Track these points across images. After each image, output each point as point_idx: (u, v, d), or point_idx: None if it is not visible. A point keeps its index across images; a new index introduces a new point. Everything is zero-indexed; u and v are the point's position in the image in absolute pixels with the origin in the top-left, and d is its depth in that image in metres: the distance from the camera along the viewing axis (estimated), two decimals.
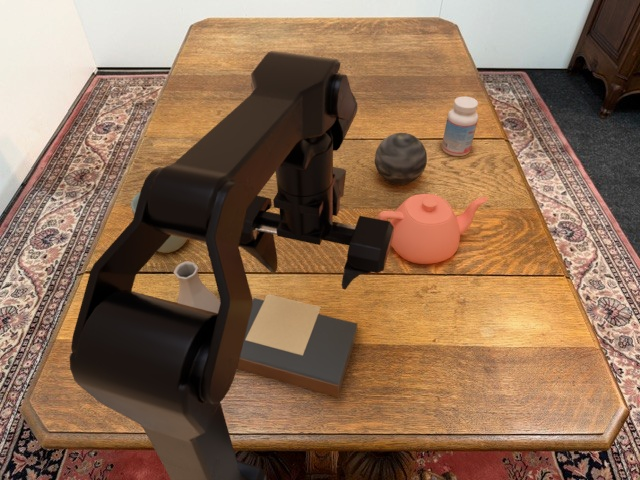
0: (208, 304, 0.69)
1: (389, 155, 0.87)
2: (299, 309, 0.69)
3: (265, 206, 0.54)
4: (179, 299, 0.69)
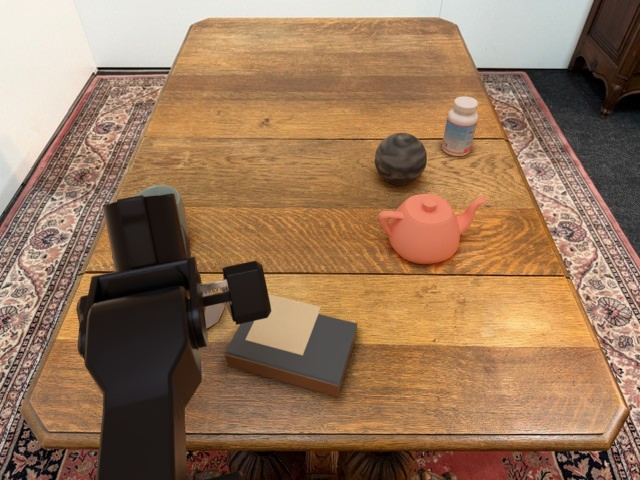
0: None
1: (389, 155, 0.87)
2: (299, 309, 0.69)
3: None
4: None
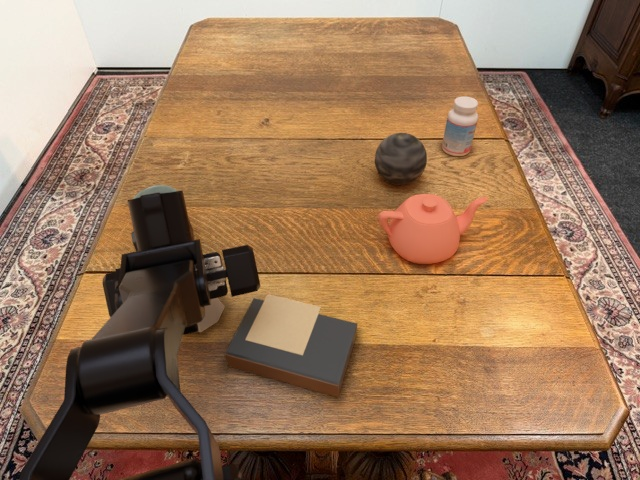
0: None
1: (389, 155, 0.87)
2: (299, 309, 0.69)
3: None
4: None
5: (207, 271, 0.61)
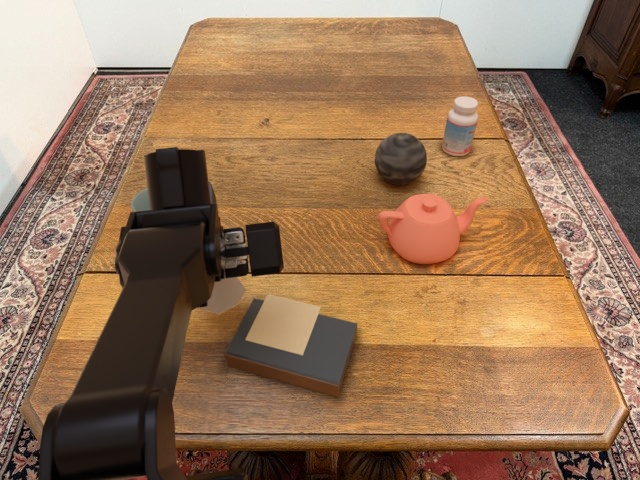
0: (228, 285, 0.64)
1: (389, 155, 0.87)
2: (299, 309, 0.69)
3: None
4: None
5: (228, 247, 0.56)
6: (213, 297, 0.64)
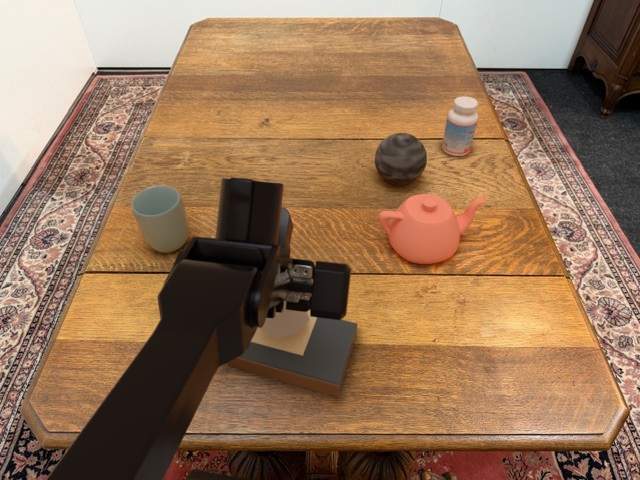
0: (291, 312, 0.62)
1: (389, 155, 0.87)
2: None
3: None
4: None
5: (294, 279, 0.53)
6: (274, 320, 0.62)
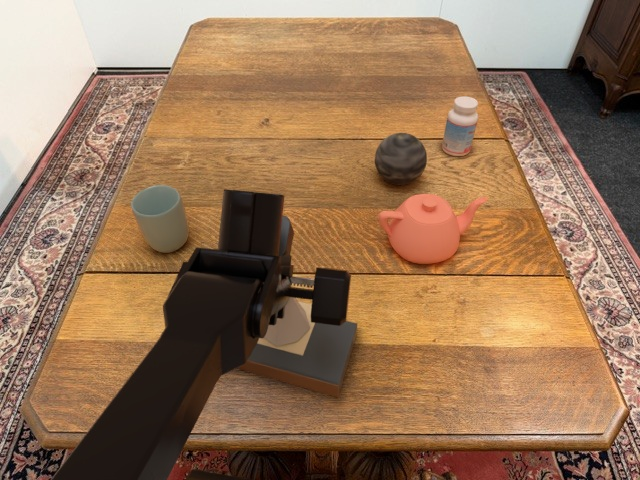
0: (292, 321, 0.63)
1: (389, 155, 0.87)
2: None
3: None
4: None
5: None
6: (275, 329, 0.63)
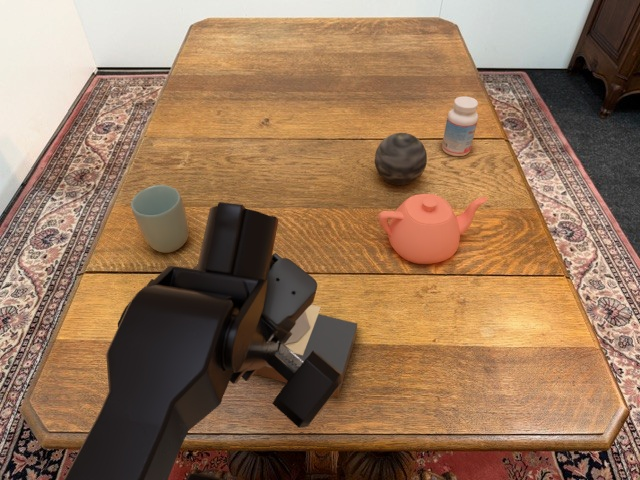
0: None
1: (389, 155, 0.87)
2: None
3: None
4: None
5: None
6: None
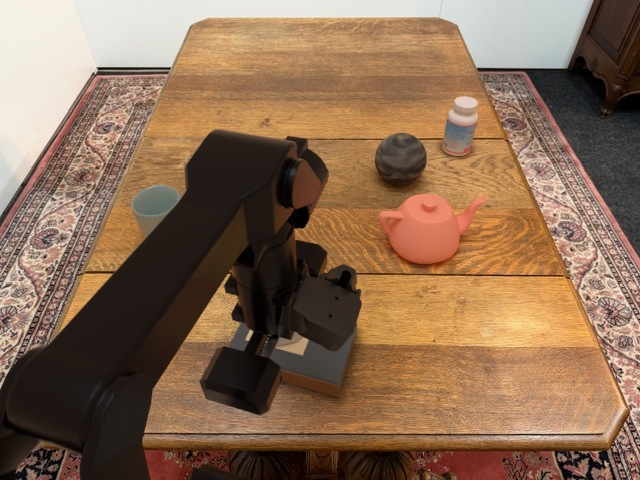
0: None
1: (390, 155, 0.87)
2: None
3: None
4: None
5: None
6: None
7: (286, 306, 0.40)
